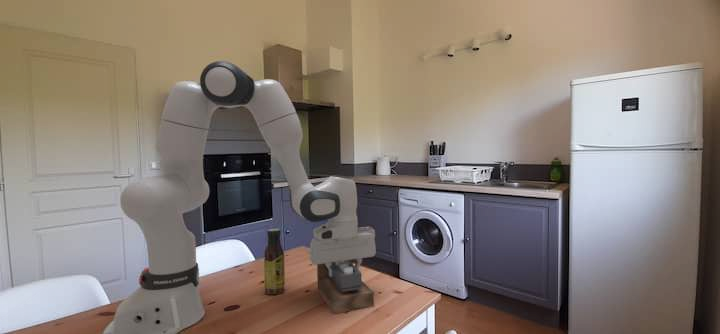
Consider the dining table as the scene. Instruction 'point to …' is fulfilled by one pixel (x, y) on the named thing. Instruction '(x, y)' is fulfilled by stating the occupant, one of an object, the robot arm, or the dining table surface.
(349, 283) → the grey egg holder
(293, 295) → the dining table surface
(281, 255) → the sauce bottle
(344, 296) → the walnut shelf
